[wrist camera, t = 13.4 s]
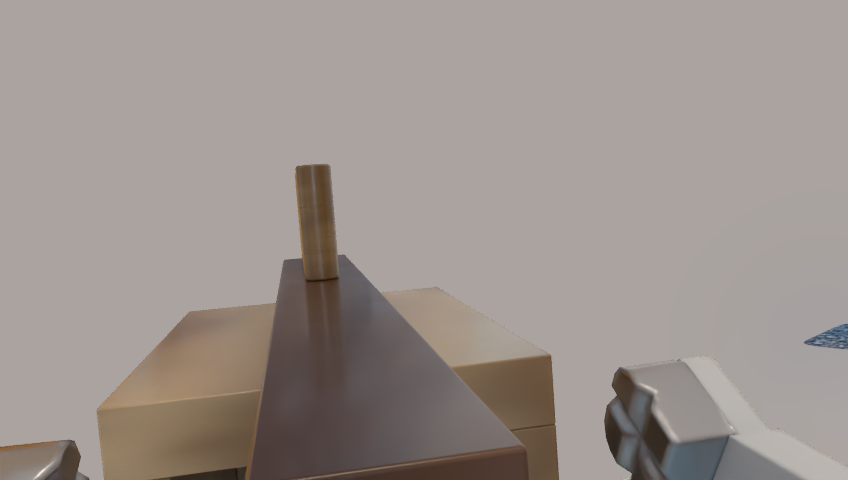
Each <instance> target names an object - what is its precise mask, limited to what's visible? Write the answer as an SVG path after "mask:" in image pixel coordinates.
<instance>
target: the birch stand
mask: <svg viewBox="0 0 848 480" xmlns="http://www.w3.org/2000/svg"><path fill="white" fill-rule="evenodd" d="M381 294H382V295H383V296H384V297H385V298H386V299H387V300H388V302H389V303H390V304H391V305H392V306H393V307H394V308H395V309H396V310H397V311H398V312H399V313H400V314H401V315H402V316H403V317H404V318H405V320H406V321H407V322H408V323H409V324H410V325H411V326H412V327H413V328H414V329H415V330H416V331H417V332H418V333H419V334H420V335H421V336H422V338H423V339H424V340H425V341H426V342H427V343H428V344H429V345H430V346H431V347H432V348H433V349H434V350H435V351H436V352H437V353H438V355H439V356H440V357H441V358H442V359H443V360H444V361H445V362H446V363H447V364H448V365H449V366H450V367H451V368H452V369H453V370H454V371H455V373H456V374H457V375H458V376H459V377H460V378H461V379H462V380H463V381H464V382H465V383H466V384H467V385H468V386H469V387H470V388H471V389H472V391H473V392H474V393H475V394H476V395H477V396H478V397H479V398H480V399H481V400H482V401H483V402H484V403H485V404H486V405H487V406H488V408H489V409H490V410H491V411H492V412H493V413H494V414H495V415H496V416H497V417H498V418H499V419H500V420H501V421H502V422H503V423H504V424H505V426H506V427H507V428H508V429H509V430H510V431H511V432H512V433H513V434H514V435H515V436H516V437H517V438H518V439H519V440H520V441H521V443H522V444H523V445H524V446H525V447H526V449H527V452H528V467H529V480H559V474H558V457H557V442H556V426H555V410H554V409H555V408H554V393H553V376H552V361H551V355H550V354H548V353H547V352H545V351H543V350H542V349H540V348H538V347H537V346H535V345H533V344H532V343H530V342H528V341H527V340H525V339H523V338H522V337H520V336H518V335H516V334H515V333H513V332H511V331H510V330H508V329H506V328H505V327H503V326H501V325H500V324H498V323H496V322H495V321H493V320H491V319H489V318H488V317H486V316H484V315H483V314H481V313H480V312H478V311H476V310H475V309H473V308H471V307H470V306H468V305H466V304H464V303H463V302H461V301H459V300H458V299H456V298H454V297H453V296H451V295H449V294H448V293H446V292H444V291H443V290H441V289H439V288H437V287H433V288H423V289H413V290H403V291H393V292H383V293H381ZM275 307H276V303H273V304H262V305H252V306H242V307H232V308H222V309H212V310H202V311H192V312H189V313H188V314H187V315H186V316H185V317H184V318H183V319H182V320H181V321H180V322H179V323H178V324H177V325H176V326H175V328H174V329H173V330H172V331H171V332H170V333H169V334H168V335H167V336H166V337H165V338H164V339H163V340H162V341H161V342H160V343H159V344H158V345H157V347H156V348H155V349H154V350H153V351H152V352H151V353H150V354H149V355H148V356H147V357H146V358H145V359H144V360H143V361H142V362H141V363H140V364H139V365H138V367H137V368H136V369H135V370H134V371H133V372H132V373H131V374H130V375H129V376H128V377H127V378H126V379H125V380H124V381H123V383H121V385H120V386H119V387H118V388H117V389H116V390H115V391H114V392H113V393H112V394H111V395H110V396H109V397H108V398H107V399H106V400H105V401H104V402H103V404H102V405H101V406H100V407H99V408H98V409H97V418H98V427H99V436H100V446H101V456H102V465H103V474H104V480H245V475H246V469H247V464H248V458H249V452H250V447H251V441H252V436H253V430H254V424H255V419H256V413H257V408H258V402H259V396H260V391H261V385H262V380H263V374H264V368H265V363H266V357H267V352H268V346H269V340H270V335H271V329H272V324H273V318H274V312H275Z"/></svg>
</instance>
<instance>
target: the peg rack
mask: <svg viewBox="0 0 848 480" xmlns="http://www.w3.org/2000/svg"><path fill="white" fill-rule="evenodd" d="M295 174H296V175H295V179H296V191H297V203H298V215H299V225H300V237H301V249H302V258H301V259H290V260H284V262H283V268H282V274H281V279H280V284H279V290H278V296H277V301H276V307H275V312H274V318H273V324H272V329H271V335H270V340H269V346H268V352H267V357H266V363H265V368H264V374H263V380H262V385H261V391H260V396H259V402H258V408H257V413H256V419H255V424H254V430H253V436H252V441H251V447H250V452H249V458H248V464H247V469H246V475H245V480H529V467H528V452H527V449H526V447H525V446H524V445H523V444H522V443H521V441H520V440H519V439H518V438H517V437H516V436H515V435H514V434H513V433H512V432H511V431H510V430H509V429H508V428H507V427H506V426H505V424H504V423H503V422H502V421H501V420H500V419H499V418H498V417H497V416H496V415H495V414H494V413H493V412H492V411H491V410H490V409H489V408H488V406H487V405H486V404H485V403H484V402H483V401H482V400H481V399H480V398H479V397H478V396H477V395H476V394H475V393H474V392H473V391H472V389H471V388H470V387H469V386H468V385H467V384H466V383H465V382H464V381H463V380H462V379H461V378H460V377H459V376H458V375H457V374H456V373H455V371H454V370H453V369H452V368H451V367H450V366H449V365H448V364H447V363H446V362H445V361H444V360H443V359H442V358H441V357H440V356H439V355H438V353H437V352H436V351H435V350H434V349H433V348H432V347H431V346H430V345H429V344H428V343H427V342H426V341H425V340H424V339H423V338H422V336H421V335H420V334H419V333H418V332H417V331H416V330H415V329H414V328H413V327H412V326H411V325H410V324H409V323H408V322H407V321H406V320H405V318H404V317H403V316H402V315H401V314H400V313H399V312H398V311H397V310H396V309H395V308H394V307H393V306H392V305H391V304H390V303H389V302H388V300H387V299H386V298H385V297H384V296H383V295H382V294H381V293H380V292H379V291H378V290H377V289H376V288H375V287H374V286H373V285H372V284H371V283H370V281H369V280H368V279H367V278H366V277H365V276H364V275H363V274H362V273H361V272H360V271H359V270H358V269H357V268H356V267H355V265H354V264H353V263H352V262H351V261H350V260H349V259H348V258H347V257H346V256H345V255H338V254H337V242H336V230H335V218H334V207H333V195H332V182H331V170H330V165H328V164H315V165H303V166H297V167H296V173H295Z"/></svg>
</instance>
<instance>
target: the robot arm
mask: <svg viewBox="0 0 848 480" xmlns="http://www.w3.org/2000/svg"><path fill="white" fill-rule="evenodd" d="M612 387H613V389H614V390H615V392H616V394H617V396H616V397H615V398H614V399H613V400H612V401H611V402H610V403H609V404H608V405H607V408H606V414H605V420H604V423H605V432H606V439H607V442H608V445H609V448H610V451H611V453H612V455H613V457H614V459H615V461H616V462H617V464H619V465H620V466H622V467H623V468H625V469H626V470H628V471H630V472H631V473H632V476H631V480H848V466H847V465H845V464H843V463H841V462H840V461H838V460H836V459H834V458H832V457H830V456H829V455H826V454H825V453H823V452H821V451H819V450H817V449H816V448H814V447H812V446H810V445H808V444H806V443H804V442H803V441H801V440H799V439H797V438H795V437H793V436H792V435H790V434H788V433H786V432H784V431H782V430H780V429H779V428H777V429H769V428H768V427H767V425H766V424H765V423H764V422H763V420H762V419H761V418H760V417H759V415H758V414H757V413H756V412H755V410H754V409H753V408H752V406H751V405H750V404H749V403H748V401H747V400H746V399H745V398H744V397H743V395H742V394H741V393H740V392H739V390H738V389H737V388H736V386H735V385H734V384H733V383H732V381H731V380H730V379H729V377H728V376H727V375H726V374H725V373H724V371H723V370H722V369H721V367H720V366H719V365H718V364H717V362H716V361H715V360H714V359H712V358H710V357H709V356H699V357H692V358H686V359H678V360H671V361H663V362H655V363H649V364H642V365H634V366H627V367H620V368H619V369H618V370H617V372H616V373H615V375H614V379H613V382H612ZM80 458H81V456H80V453H79V451H78V448H77V446H76V444H75V441H72V440H61V441H52V442H42V443H33V444H24V445H14V446H4V447H0V480H89V478H88V477H86V476H85V475H83V474H81V473H80V472H78V467H79V462H80Z"/></svg>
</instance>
